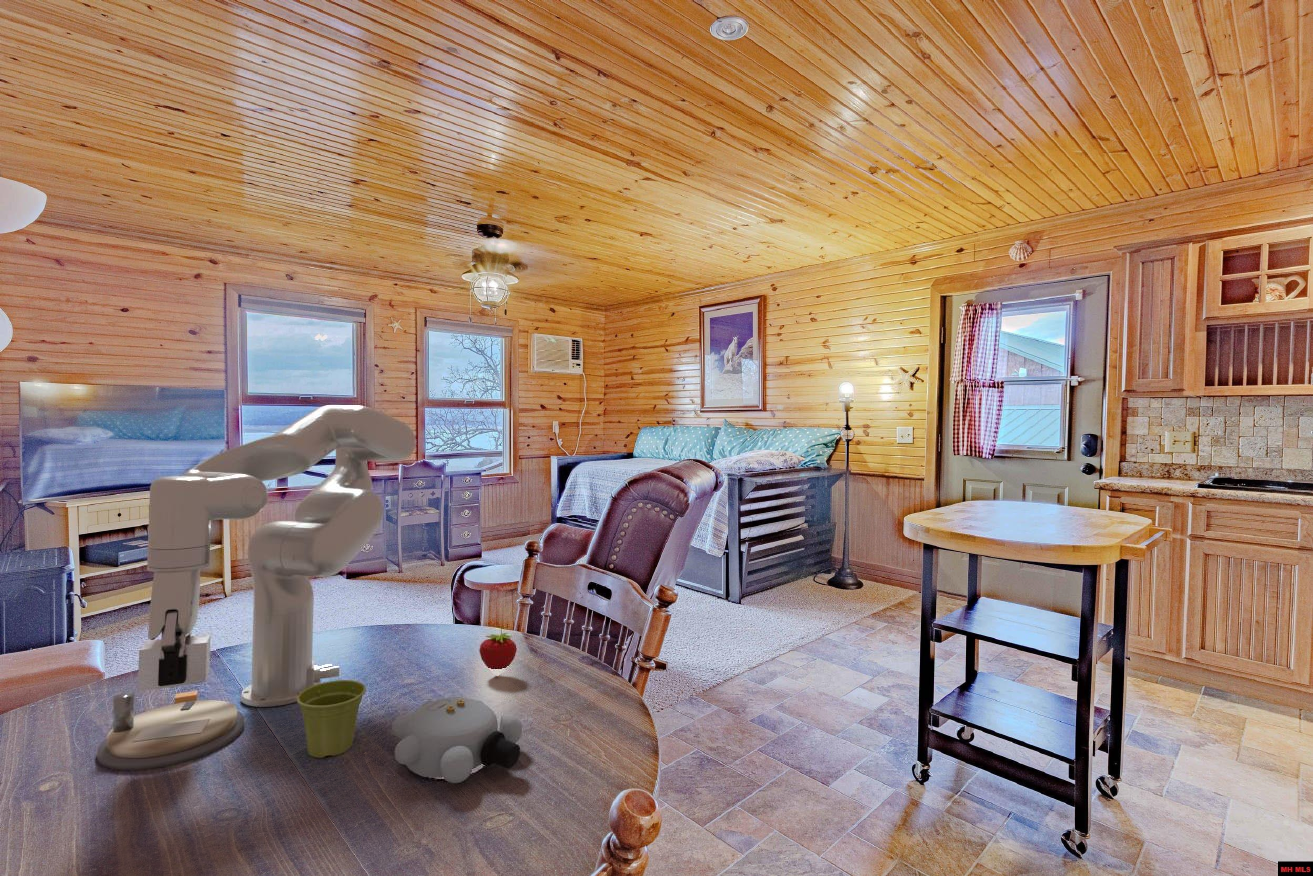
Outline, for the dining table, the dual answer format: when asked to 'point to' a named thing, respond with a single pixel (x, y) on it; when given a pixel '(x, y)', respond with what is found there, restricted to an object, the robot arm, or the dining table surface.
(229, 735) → the turntable base
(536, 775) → the dining table surface
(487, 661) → the strawberry
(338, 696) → the plant pot
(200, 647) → the link block
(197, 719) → the turntable
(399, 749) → the grey toy figure
